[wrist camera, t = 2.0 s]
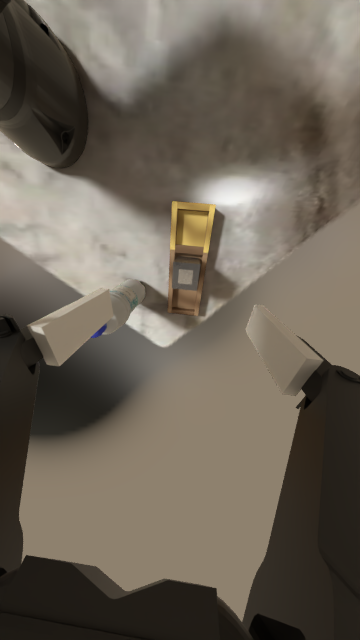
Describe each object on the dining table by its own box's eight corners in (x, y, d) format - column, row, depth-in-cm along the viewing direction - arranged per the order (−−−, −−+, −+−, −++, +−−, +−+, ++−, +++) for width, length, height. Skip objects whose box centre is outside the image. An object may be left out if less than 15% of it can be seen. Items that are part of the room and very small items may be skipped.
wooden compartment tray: (173, 204, 29) (172, 201, 26) (213, 207, 28) (215, 204, 26) (169, 308, 40) (167, 312, 38) (197, 311, 40) (197, 315, 37)
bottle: (151, 284, 37) (114, 323, 19) (143, 305, 40) (104, 355, 23) (127, 271, 36) (64, 301, 18) (120, 294, 39) (61, 338, 22)
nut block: (178, 255, 32) (173, 261, 23) (198, 257, 32) (200, 264, 23) (177, 276, 34) (171, 288, 26) (195, 278, 34) (196, 291, 25)
